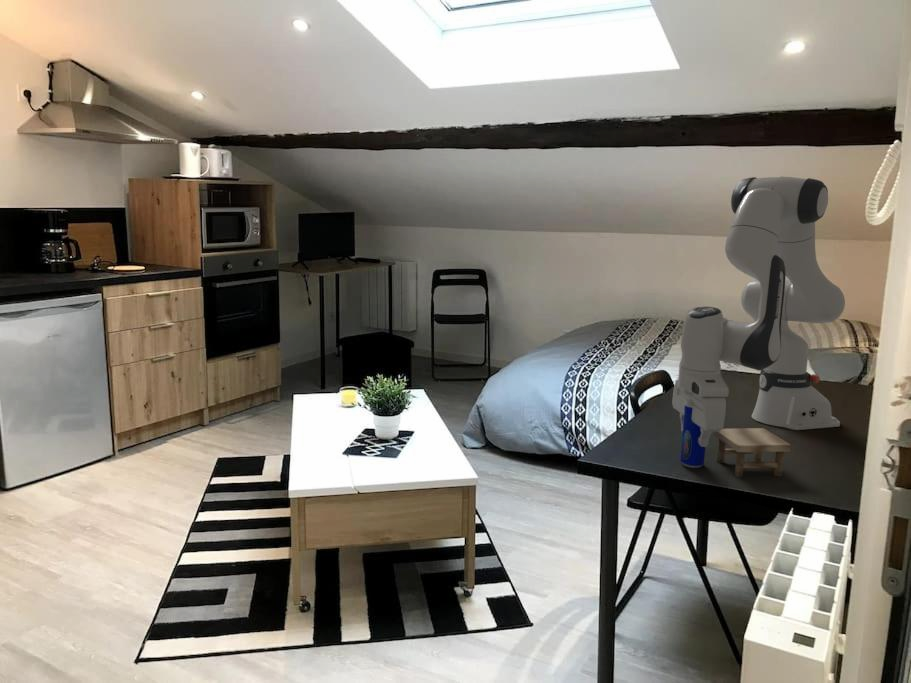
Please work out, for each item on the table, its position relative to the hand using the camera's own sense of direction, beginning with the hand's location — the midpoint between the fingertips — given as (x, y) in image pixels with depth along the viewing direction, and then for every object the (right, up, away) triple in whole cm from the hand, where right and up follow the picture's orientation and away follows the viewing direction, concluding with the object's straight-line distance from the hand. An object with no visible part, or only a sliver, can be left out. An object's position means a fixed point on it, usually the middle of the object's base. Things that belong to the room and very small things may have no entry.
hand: (694, 438), depth 168 cm
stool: (+12, -7, -1) cm, 14 cm away
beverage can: (0, -6, +1) cm, 6 cm away
